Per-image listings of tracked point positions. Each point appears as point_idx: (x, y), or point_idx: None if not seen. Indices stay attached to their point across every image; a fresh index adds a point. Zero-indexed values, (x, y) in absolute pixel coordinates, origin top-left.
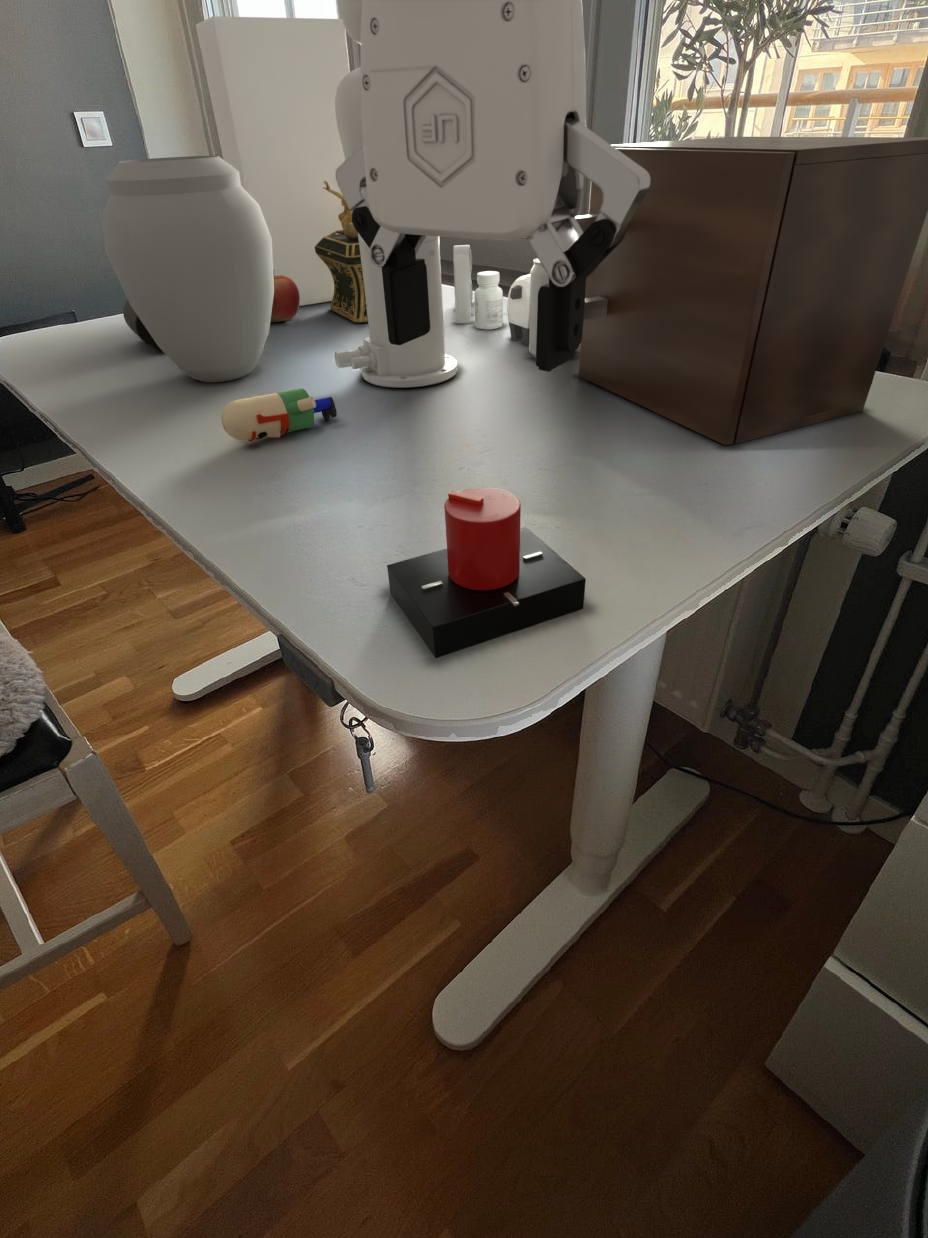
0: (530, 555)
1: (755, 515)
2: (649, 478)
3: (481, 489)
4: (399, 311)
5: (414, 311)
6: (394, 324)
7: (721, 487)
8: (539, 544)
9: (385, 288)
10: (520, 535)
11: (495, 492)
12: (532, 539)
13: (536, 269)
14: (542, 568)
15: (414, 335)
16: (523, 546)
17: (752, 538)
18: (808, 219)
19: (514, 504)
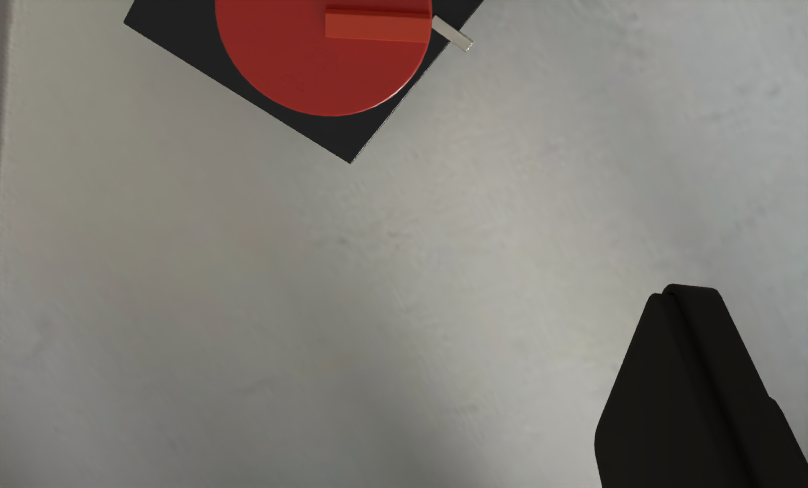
0: None
1: (51, 385)
2: (268, 434)
3: (368, 93)
4: (688, 403)
5: (643, 459)
6: (698, 342)
7: (144, 442)
8: (284, 109)
9: (797, 483)
10: (341, 127)
11: (325, 92)
12: (309, 122)
13: None
14: None
15: (625, 372)
16: None
17: (16, 323)
18: None
19: (243, 51)
